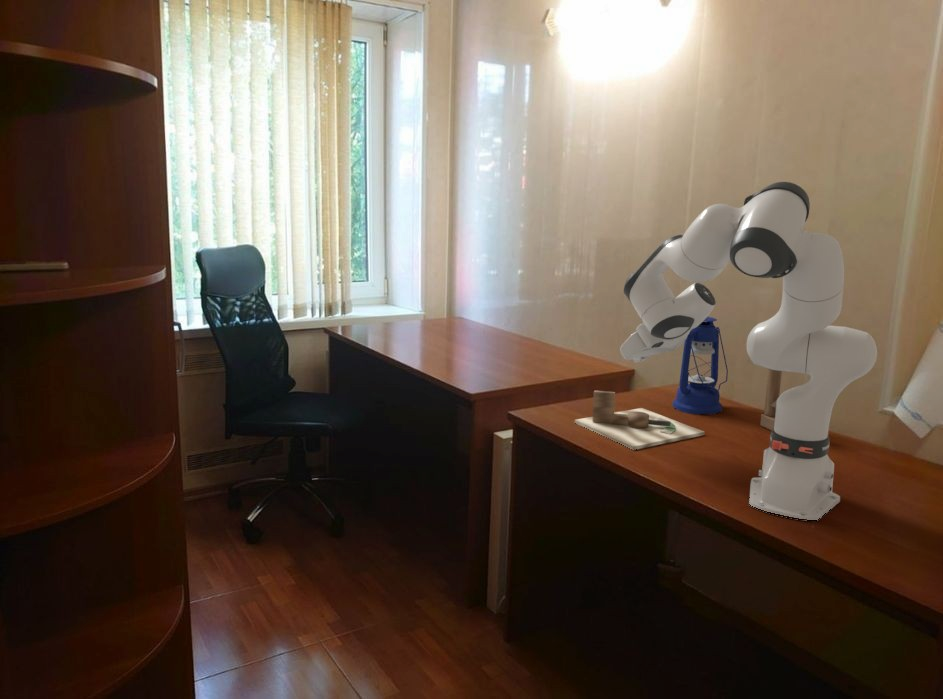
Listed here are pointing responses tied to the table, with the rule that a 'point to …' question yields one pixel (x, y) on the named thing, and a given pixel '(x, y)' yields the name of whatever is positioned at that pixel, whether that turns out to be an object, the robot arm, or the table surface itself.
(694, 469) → the table surface
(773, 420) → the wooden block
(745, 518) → the table surface
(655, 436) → the tuner board
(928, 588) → the table surface
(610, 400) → the brown wooden long piece
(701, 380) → the lantern
